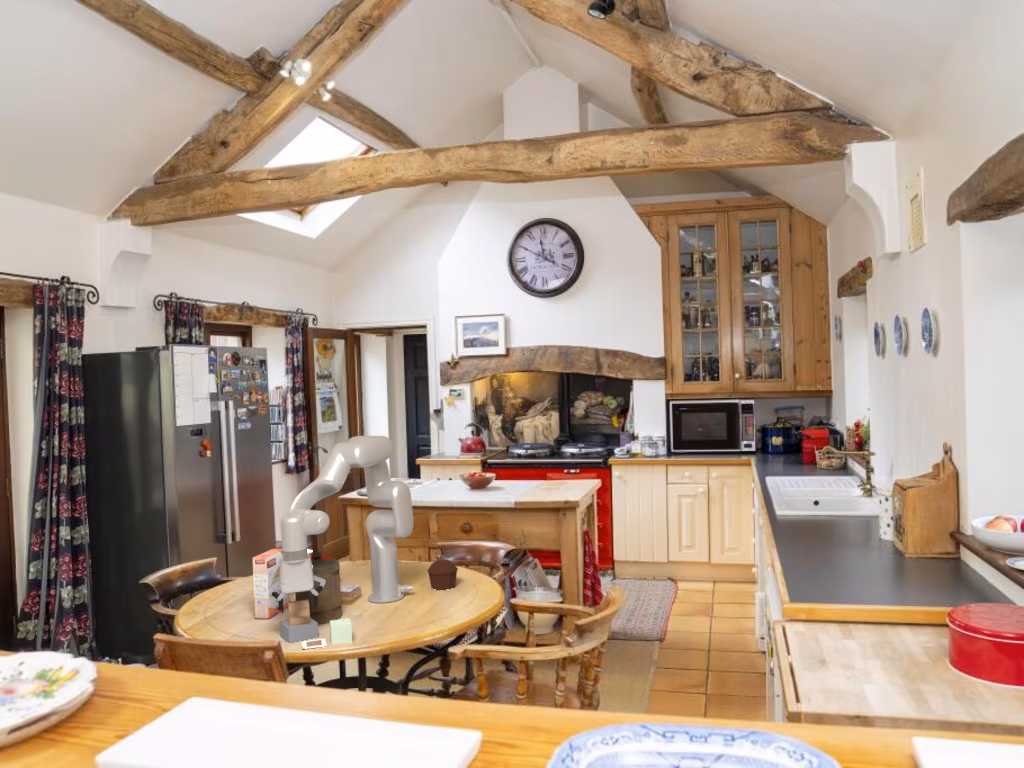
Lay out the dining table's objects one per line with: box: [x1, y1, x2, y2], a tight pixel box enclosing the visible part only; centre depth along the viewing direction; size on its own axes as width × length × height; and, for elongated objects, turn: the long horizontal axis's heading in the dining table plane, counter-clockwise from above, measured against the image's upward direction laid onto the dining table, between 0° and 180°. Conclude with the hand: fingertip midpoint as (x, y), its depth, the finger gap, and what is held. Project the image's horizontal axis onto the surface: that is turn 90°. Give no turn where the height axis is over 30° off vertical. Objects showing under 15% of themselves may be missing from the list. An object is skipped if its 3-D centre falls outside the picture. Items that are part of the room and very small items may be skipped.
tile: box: [301, 637, 328, 649], centre depth 236 cm, size 7×7×1 cm
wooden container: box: [294, 551, 343, 625], centre depth 263 cm, size 15×15×22 cm
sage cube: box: [329, 617, 353, 646], centre depth 238 cm, size 6×6×6 cm
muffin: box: [427, 558, 459, 591], centre depth 294 cm, size 12×11×10 cm
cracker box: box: [252, 548, 290, 620], centre depth 271 cm, size 14×6×21 cm, turn 168°
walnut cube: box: [288, 599, 310, 626], centre depth 244 cm, size 6×6×6 cm
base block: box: [279, 618, 319, 644], centre depth 244 cm, size 9×9×5 cm
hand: (298, 609), depth 244 cm, fingers open, 9 cm apart
